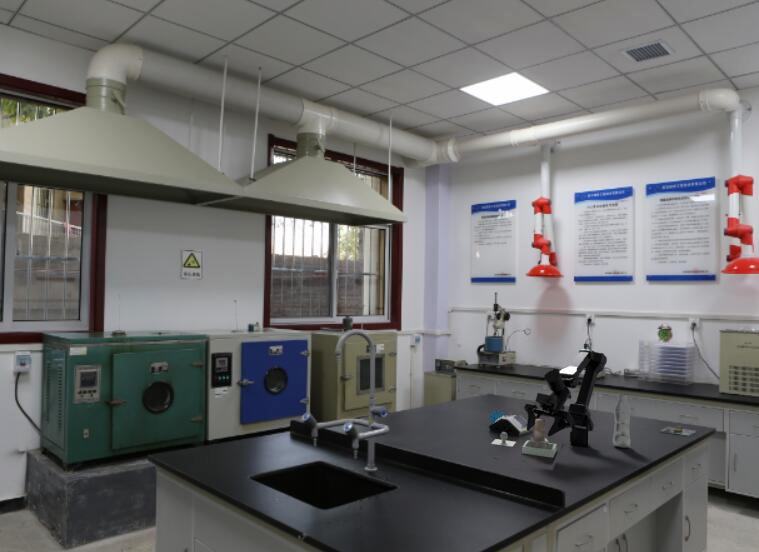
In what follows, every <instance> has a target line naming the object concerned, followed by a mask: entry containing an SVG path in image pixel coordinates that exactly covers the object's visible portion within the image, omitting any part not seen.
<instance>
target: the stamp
mask: <svg viewBox="0 0 759 552" xmlns="http://www.w3.org/2000/svg"><path fill="white" fill-rule="evenodd" d="M530 441H531V447H533V448H541V449H548V447H549V443H550V442H549V440H548V438H546V420H545V419H544V418H543V419H542V418H538V419H536V420H535V425H534V436H532V437H530Z"/></svg>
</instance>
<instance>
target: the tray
mask: <svg viewBox="0 0 759 552" xmlns="http://www.w3.org/2000/svg"><path fill="white" fill-rule="evenodd" d="M557 448H558V444H557V443H550V442H549V447H548V449H541V448H533V447H531V439H530V440H526V441H525V442H524V444H523V445H522V449H521V453H522V454H526V455H531V456H539V457H545V458H546V457H547V458H554V457H555V455H556V453H557Z"/></svg>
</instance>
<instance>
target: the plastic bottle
mask: <svg viewBox="0 0 759 552" xmlns="http://www.w3.org/2000/svg"><path fill="white" fill-rule="evenodd" d="M616 400H617V402H616V403H615V405H613V406H614V407H613V416H614V429H613V434H612V435H613V436H612V443H613V446H615V447H618V448H623V449H624V448H626V449H627V448H629V447H630V446H631V442H632V441H631V436H630V419H631V415H632V408H631V406H630V404H629V403H628V400H629V399H628V395H625V394H617V399H616Z"/></svg>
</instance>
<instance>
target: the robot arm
mask: <svg viewBox="0 0 759 552" xmlns="http://www.w3.org/2000/svg"><path fill="white" fill-rule="evenodd" d="M607 361H608V358H607V356H606V355H605V353H604V352H598V351H597V352H596V351H594V350H592V349H587V348H582V349H580V350H579V351H578V353H577V355H576V356H575V358H574V359H573V360H572V361H571V363H570V364H569V366H568V367H565V368H562V369H561V370H560V369H559V368H552V370H549V371H547V372H546V373H545V374H544V381H545V382H546V384H547V386H548V389H549V390H550V391H551V393H550V395H549V394H545V393H541V392H540V393H539V392H537V393H536V396H535V400H534V401H535V402H536V403H538V404H539V407H540V408H542V409H540V408H539V407H538V406H537V404H535V403H529V402H528V403H527V402H526V403H525V405H524V407H523V409H524V411H525V412H526V414H527V424H526V427H525V428H526V431H527V432H529V431H530V430H531V429H532V428H533V427H535V420H536V419H541V416H543V417H547V418H550V419H554V420H553V423H552V425H551V427H550V428H549V430H548V432H547V436H548V437H551V436H553V435H555V434H557V433H559V432H560V431H563V430H565V429H568V428H569V429H571V430H570V431H569V443H570V446H576V445H577V447H585V448H589V446H590V442H589V439H590V437H589V436H590V432H593V430H594V428H595V427H594V426H595V424H594V422H593V420H592V418H591V417H592V413H591V410H590V408H589V406H590V403H591V398H592V395H593V392H594V388H595V386H596V385H595V384H596V381H597V377H598V375H599V374H600V373H601V372H603V371H604V368H605V366H606V365H607ZM582 372H584V373H583V377H582V379H581V385H580V387H579V389H578V390H579V391H578V395H577V397H576V401H575V402H574V403H573V402H571V403H570V404H569V407H568V411H567V410H565V406H564V405H565V404H566V403H567V400H568V399H569V400H571V399H572V392H571V390H570V389H576V388H577V386H578V385H579V383H580V378H579V376H580V375H581V374H582Z"/></svg>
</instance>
